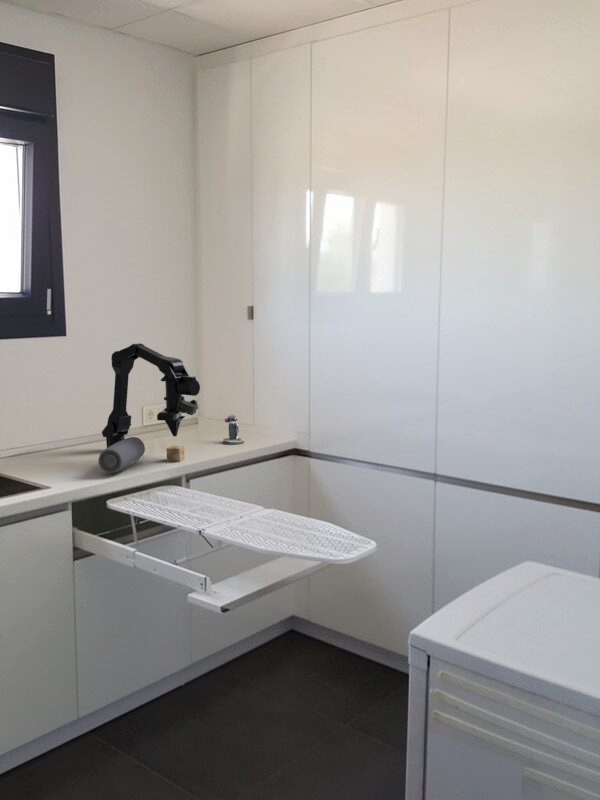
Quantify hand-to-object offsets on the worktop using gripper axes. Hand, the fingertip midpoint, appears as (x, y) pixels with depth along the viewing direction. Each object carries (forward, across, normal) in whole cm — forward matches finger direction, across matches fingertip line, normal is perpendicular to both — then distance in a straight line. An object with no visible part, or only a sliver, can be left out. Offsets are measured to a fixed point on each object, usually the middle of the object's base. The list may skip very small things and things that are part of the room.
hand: (175, 436), depth 292 cm
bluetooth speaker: (+9, -17, +13) cm, 23 cm away
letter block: (+9, 0, 0) cm, 9 cm away
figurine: (+9, +36, -11) cm, 39 cm away
